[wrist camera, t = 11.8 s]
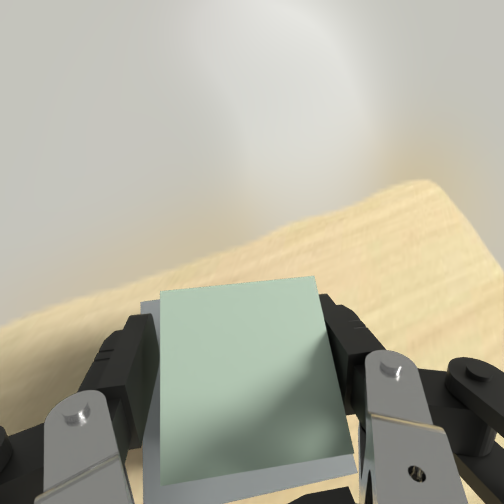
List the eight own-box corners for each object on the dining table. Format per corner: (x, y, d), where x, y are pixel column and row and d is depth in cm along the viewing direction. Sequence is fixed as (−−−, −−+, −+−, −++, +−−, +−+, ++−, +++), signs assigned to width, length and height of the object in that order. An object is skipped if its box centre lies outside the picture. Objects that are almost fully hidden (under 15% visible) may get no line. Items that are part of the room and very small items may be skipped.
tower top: (167, 486, 18) (143, 521, 13) (161, 322, 22) (140, 302, 17) (325, 451, 19) (357, 472, 14) (291, 302, 23) (307, 278, 18)
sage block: (195, 439, 15) (160, 486, 7) (190, 334, 17) (160, 291, 9) (295, 423, 15) (354, 453, 8) (279, 324, 17) (314, 275, 10)
